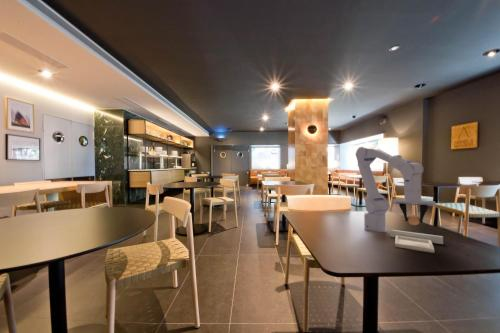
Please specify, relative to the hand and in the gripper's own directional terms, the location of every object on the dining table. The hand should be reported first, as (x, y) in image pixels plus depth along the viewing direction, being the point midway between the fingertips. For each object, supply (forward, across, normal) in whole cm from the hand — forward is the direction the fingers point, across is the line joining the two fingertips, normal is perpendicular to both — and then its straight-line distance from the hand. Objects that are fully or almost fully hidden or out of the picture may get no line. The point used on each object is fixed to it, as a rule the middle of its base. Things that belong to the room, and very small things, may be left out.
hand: (413, 221), depth 89 cm
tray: (+8, -1, -5) cm, 10 cm away
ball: (-1, 0, 0) cm, 1 cm away
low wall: (+8, 0, +3) cm, 9 cm away
